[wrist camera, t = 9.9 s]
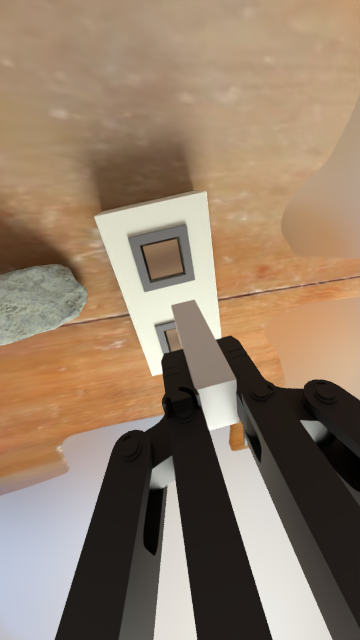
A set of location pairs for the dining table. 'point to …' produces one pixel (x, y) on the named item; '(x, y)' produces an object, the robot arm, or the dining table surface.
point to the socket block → (159, 294)
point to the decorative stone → (38, 301)
